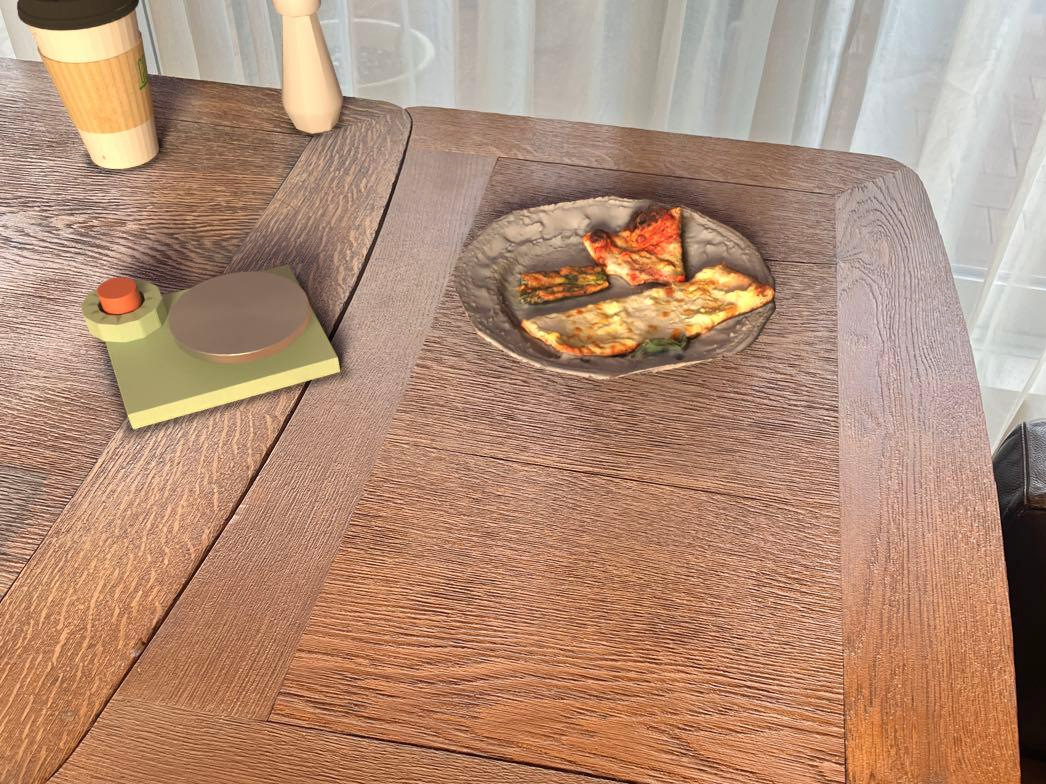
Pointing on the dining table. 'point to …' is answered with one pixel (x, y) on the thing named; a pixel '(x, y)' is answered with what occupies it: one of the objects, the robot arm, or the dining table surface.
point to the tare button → (119, 296)
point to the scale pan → (239, 317)
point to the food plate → (614, 287)
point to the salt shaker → (307, 68)
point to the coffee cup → (98, 74)
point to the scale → (193, 360)
